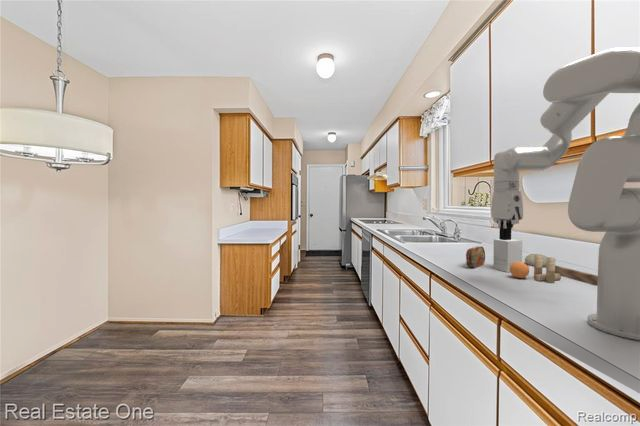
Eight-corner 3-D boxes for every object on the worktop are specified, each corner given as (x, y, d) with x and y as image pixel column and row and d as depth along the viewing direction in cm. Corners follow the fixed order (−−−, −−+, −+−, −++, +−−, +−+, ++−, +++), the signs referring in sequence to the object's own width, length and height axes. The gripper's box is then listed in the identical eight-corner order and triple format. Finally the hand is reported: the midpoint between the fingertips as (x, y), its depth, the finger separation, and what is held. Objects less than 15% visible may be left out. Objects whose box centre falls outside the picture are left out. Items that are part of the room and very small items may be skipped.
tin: (472, 269, 122) (472, 249, 122) (464, 268, 125) (464, 248, 124) (485, 264, 132) (486, 245, 132) (478, 263, 134) (478, 244, 134)
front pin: (539, 282, 103) (560, 280, 105) (540, 275, 103) (561, 274, 104) (533, 279, 106) (554, 278, 107) (534, 273, 105) (555, 272, 107)
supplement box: (522, 271, 118) (523, 240, 117) (507, 272, 116) (507, 241, 116) (507, 267, 125) (508, 238, 125) (492, 268, 124) (493, 238, 123)
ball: (519, 255, 109) (519, 264, 105) (533, 266, 108) (534, 275, 104) (506, 264, 113) (505, 272, 108) (519, 274, 112) (519, 284, 108)
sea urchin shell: (540, 258, 134) (548, 248, 128) (548, 273, 128) (557, 263, 123) (519, 258, 135) (526, 248, 129) (526, 273, 129) (534, 263, 123)
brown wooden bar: (606, 286, 96) (606, 277, 96) (601, 286, 96) (602, 277, 96) (551, 271, 116) (551, 264, 116) (548, 272, 116) (548, 264, 116)
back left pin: (543, 279, 106) (544, 255, 106) (537, 279, 106) (538, 256, 106) (538, 277, 109) (538, 254, 108) (532, 277, 109) (532, 254, 108)
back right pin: (556, 282, 101) (557, 258, 101) (550, 283, 101) (550, 258, 101) (550, 281, 104) (551, 257, 103) (544, 281, 104) (544, 257, 103)
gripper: (533, 186, 95) (532, 242, 96) (500, 188, 110) (499, 236, 110) (512, 186, 94) (511, 243, 95) (481, 188, 109) (481, 237, 110)
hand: (505, 239), depth 103 cm, fingers closed
